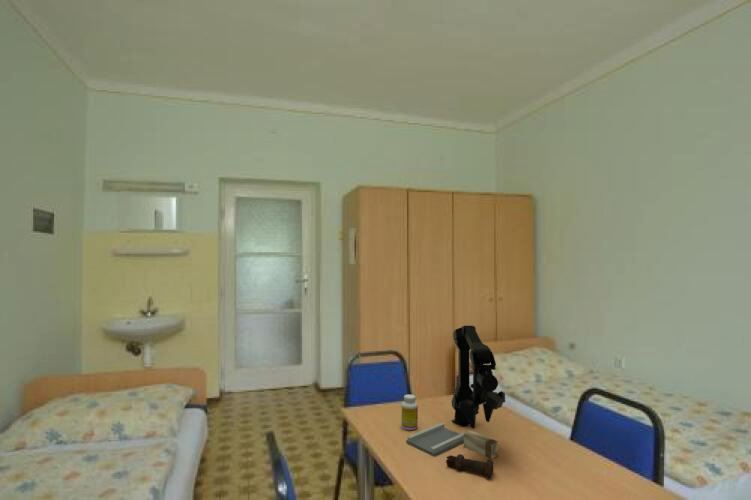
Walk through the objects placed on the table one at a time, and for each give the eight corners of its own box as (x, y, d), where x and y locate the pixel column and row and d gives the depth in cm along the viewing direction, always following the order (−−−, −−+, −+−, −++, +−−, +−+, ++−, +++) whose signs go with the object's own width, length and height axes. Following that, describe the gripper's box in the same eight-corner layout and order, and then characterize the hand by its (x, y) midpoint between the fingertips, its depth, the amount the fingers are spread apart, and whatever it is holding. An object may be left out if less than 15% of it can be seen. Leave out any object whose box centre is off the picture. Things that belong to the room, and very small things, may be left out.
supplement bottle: (418, 431, 172) (418, 399, 172) (401, 430, 172) (402, 399, 172) (416, 424, 178) (417, 393, 178) (401, 423, 179) (401, 393, 179)
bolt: (448, 469, 146) (492, 479, 139) (443, 468, 142) (489, 478, 135) (450, 451, 148) (494, 460, 141) (446, 449, 144) (490, 458, 137)
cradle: (440, 428, 174) (440, 422, 174) (468, 440, 164) (468, 433, 164) (406, 442, 161) (406, 436, 161) (434, 456, 151) (434, 449, 151)
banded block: (470, 443, 161) (470, 430, 161) (497, 455, 152) (497, 441, 152) (463, 447, 158) (463, 433, 158) (491, 459, 149) (491, 444, 149)
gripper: (485, 393, 143) (484, 440, 143) (514, 382, 155) (514, 425, 155) (458, 385, 151) (457, 429, 151) (488, 375, 164) (487, 416, 164)
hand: (480, 425), depth 155 cm, fingers open, 9 cm apart
